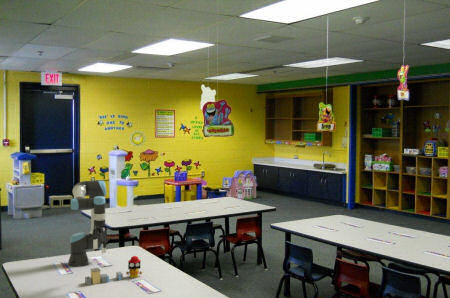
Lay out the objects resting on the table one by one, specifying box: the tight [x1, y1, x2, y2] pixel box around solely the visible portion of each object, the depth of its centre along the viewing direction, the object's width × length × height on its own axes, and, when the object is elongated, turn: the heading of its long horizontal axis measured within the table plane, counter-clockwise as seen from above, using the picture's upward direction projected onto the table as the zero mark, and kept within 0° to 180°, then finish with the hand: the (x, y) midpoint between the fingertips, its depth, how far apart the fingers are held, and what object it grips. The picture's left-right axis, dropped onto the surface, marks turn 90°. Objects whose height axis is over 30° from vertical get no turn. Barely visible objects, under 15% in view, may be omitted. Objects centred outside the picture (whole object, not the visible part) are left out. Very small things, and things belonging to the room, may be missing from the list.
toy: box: [125, 255, 143, 279], centre depth 317 cm, size 11×9×15 cm
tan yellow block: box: [90, 267, 101, 285], centre depth 302 cm, size 5×5×9 cm
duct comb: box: [84, 271, 124, 286], centre depth 304 cm, size 6×24×5 cm, turn 121°
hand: (99, 250), depth 303 cm, fingers open, 13 cm apart
